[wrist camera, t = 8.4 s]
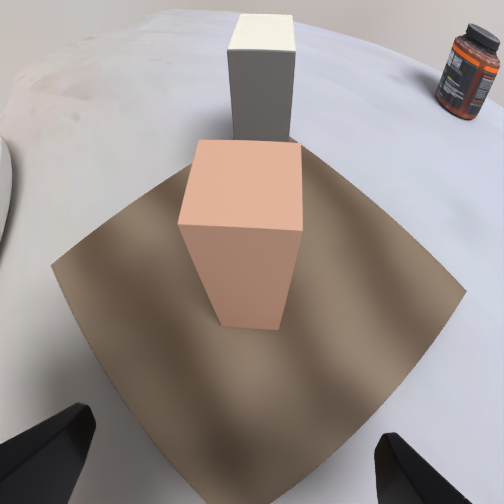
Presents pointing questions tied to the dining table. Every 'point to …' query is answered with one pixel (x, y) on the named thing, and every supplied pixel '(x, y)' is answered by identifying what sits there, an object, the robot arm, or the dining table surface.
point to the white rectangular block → (262, 76)
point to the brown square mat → (257, 335)
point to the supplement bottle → (469, 72)
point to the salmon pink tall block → (244, 227)
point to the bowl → (4, 183)
